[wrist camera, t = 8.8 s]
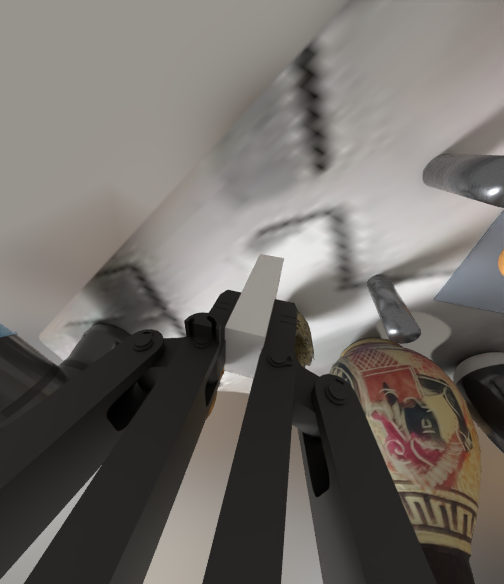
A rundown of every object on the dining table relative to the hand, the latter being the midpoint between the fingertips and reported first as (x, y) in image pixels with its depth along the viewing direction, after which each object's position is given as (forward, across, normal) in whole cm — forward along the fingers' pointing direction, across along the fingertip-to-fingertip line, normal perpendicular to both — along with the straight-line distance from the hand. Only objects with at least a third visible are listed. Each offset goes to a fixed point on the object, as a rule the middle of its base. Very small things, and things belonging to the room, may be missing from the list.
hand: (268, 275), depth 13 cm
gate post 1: (+14, -13, +6) cm, 20 cm away
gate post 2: (+14, -13, -6) cm, 20 cm away
